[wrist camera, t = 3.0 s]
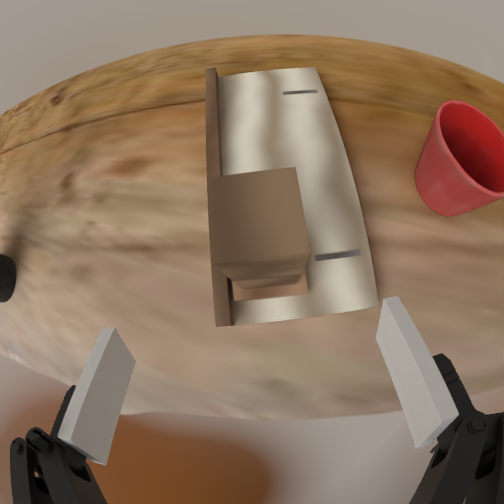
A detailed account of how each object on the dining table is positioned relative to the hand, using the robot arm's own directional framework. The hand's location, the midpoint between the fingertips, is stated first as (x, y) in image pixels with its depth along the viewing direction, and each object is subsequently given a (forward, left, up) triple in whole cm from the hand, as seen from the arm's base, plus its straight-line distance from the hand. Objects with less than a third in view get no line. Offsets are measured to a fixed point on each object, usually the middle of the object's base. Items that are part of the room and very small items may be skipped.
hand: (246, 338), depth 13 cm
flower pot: (-23, -13, -13) cm, 29 cm away
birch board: (-4, -16, -13) cm, 21 cm away
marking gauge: (-1, -6, -11) cm, 12 cm away
